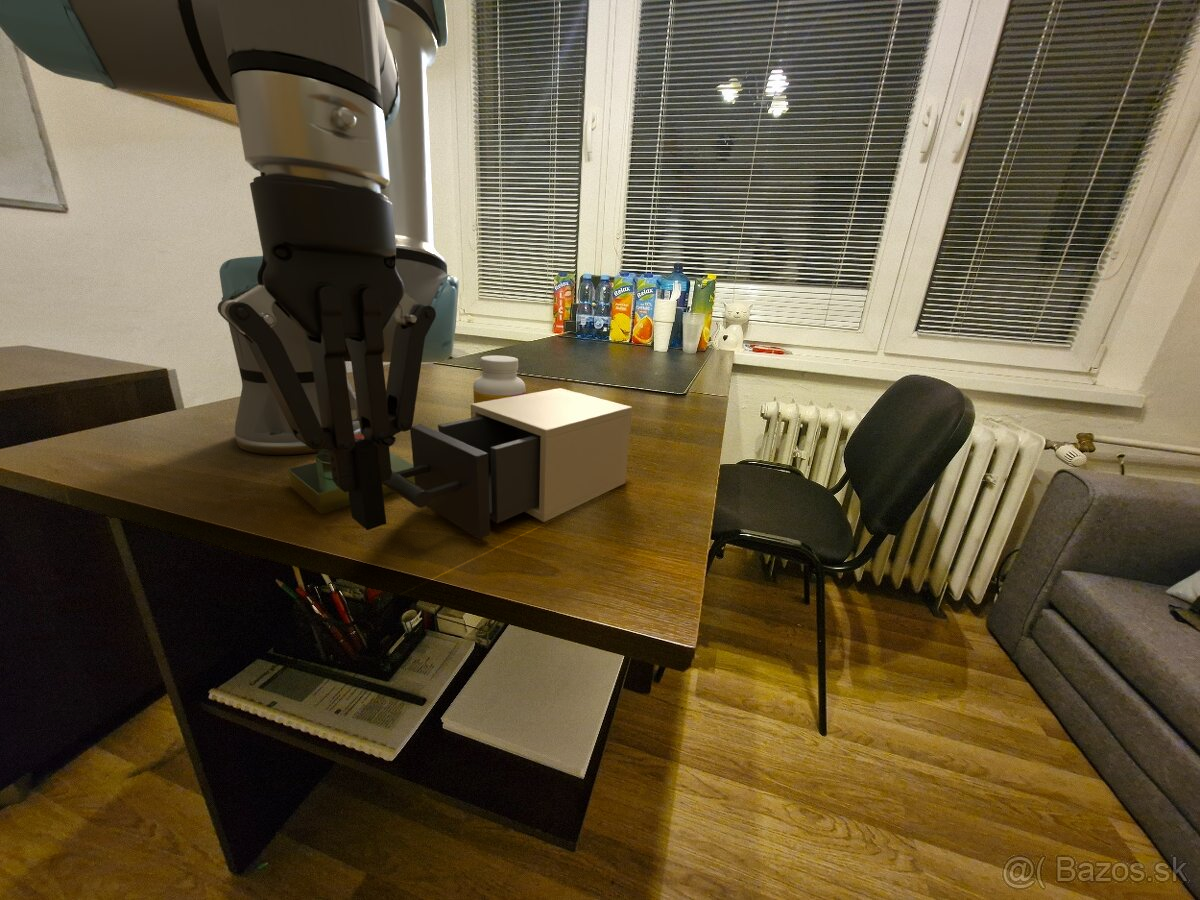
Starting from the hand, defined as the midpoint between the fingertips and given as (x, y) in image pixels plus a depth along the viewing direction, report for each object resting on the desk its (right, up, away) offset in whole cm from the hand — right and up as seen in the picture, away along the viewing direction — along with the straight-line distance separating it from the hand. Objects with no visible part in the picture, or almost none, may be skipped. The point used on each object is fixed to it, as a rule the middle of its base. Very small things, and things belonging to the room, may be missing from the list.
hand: (369, 520), depth 35 cm
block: (-8, +2, +13) cm, 15 cm away
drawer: (+7, 0, +9) cm, 11 cm away
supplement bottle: (+5, +5, +25) cm, 26 cm away
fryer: (+13, +2, +16) cm, 21 cm away
